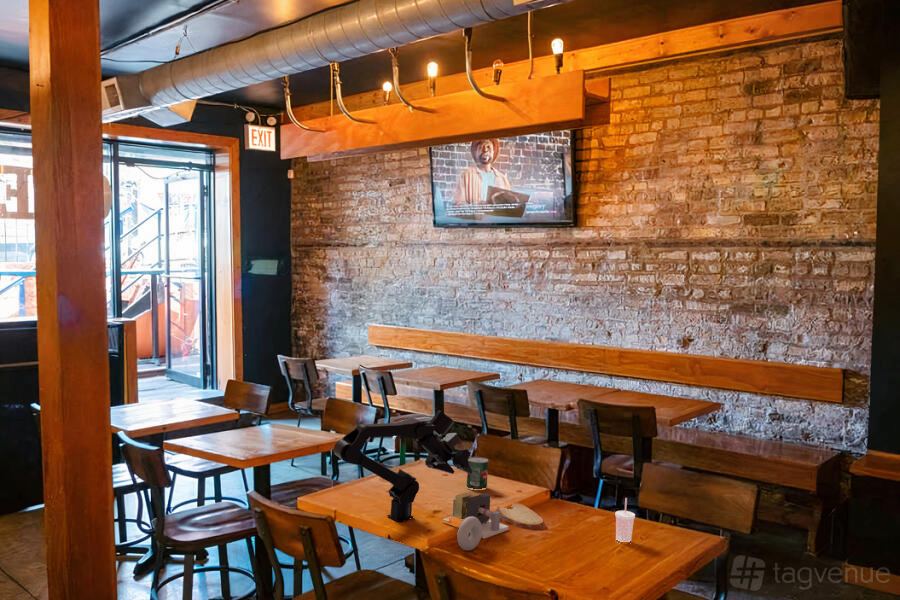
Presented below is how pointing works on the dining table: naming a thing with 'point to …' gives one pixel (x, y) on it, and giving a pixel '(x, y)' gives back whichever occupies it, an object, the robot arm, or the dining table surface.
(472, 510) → the dark gray square plate
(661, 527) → the dining table surface
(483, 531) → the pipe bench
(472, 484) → the canned tomato
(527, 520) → the bread slice
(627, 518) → the beverage cup
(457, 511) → the olive brown square block
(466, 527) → the grey wheel
